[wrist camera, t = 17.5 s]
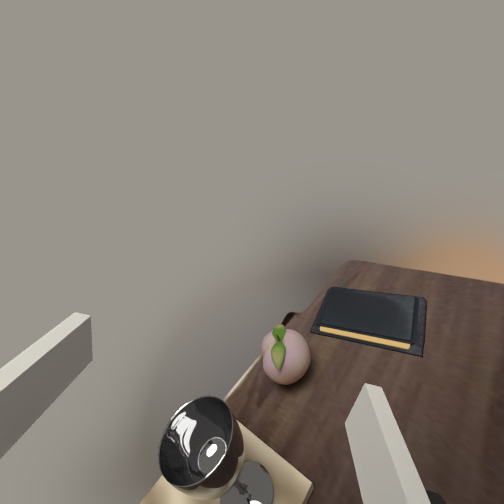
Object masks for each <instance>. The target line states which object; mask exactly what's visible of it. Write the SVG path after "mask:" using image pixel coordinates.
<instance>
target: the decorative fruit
mask: <svg viewBox="0 0 504 504" xmlns="http://www.w3.org/2000/svg"><path fill="white" fill-rule="evenodd" d="M261 350H262V354H263V356H264V358H263V368H264V371H265V373H266V374H267V376H268V377H269V378H270V379H271V380H273V381H274V382H276V383H279V384H283V385H288V384H292V383H294V382H296V381H298V380H299V379H300V378H302V377H303V375H304V374H305V373H306V371H307V369H308V367H309V364H310V350H309V347H308V344H307V342H306V341H305V339H304V338H303V337H302V336H301V335H300V334H299V333H298V332H296V331H294V330H290V329H286V328H285V327H284V326H283V325H282V324H279V325H277V326H275V327H274V329H273V331H271V332H270V333H268V334H267V335H266V336H265V338H264V339H263V342H262V346H261Z"/></svg>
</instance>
